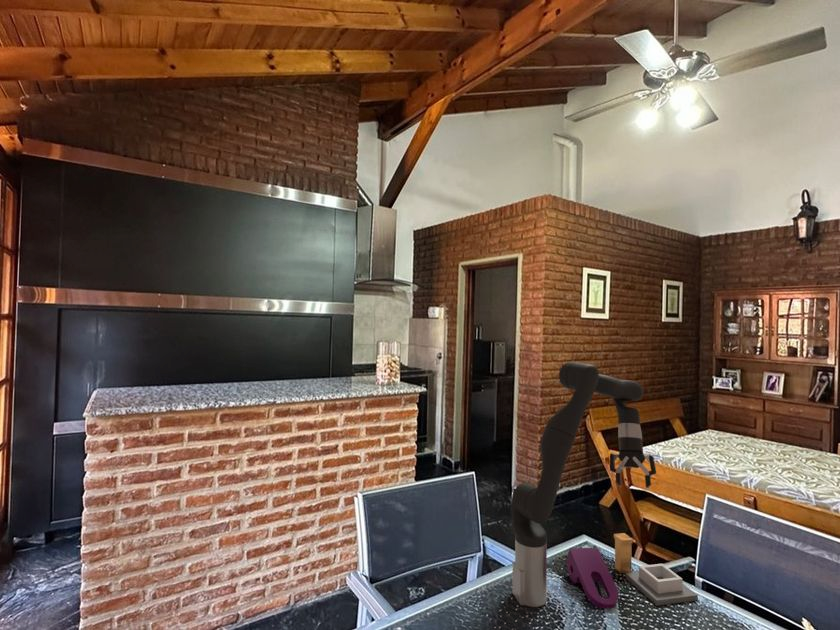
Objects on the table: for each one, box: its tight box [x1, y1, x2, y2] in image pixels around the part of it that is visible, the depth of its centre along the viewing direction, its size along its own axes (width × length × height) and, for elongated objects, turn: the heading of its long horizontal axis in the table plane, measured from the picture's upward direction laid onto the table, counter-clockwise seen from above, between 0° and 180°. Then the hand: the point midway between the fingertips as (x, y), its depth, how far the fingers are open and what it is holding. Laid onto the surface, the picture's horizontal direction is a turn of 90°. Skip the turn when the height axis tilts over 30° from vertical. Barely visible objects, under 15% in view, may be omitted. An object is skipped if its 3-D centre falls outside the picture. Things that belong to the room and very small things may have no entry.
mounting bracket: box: [566, 546, 620, 609], centre depth 135 cm, size 10×8×18 cm
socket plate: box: [625, 563, 699, 606], centre depth 135 cm, size 14×14×5 cm
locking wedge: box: [613, 532, 634, 574], centre depth 145 cm, size 4×4×11 cm
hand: (633, 486), depth 147 cm, fingers open, 8 cm apart
